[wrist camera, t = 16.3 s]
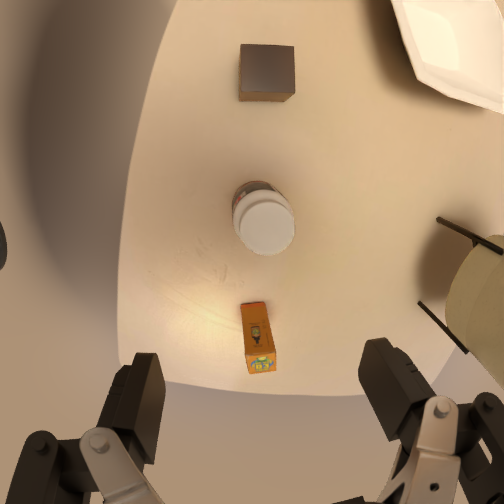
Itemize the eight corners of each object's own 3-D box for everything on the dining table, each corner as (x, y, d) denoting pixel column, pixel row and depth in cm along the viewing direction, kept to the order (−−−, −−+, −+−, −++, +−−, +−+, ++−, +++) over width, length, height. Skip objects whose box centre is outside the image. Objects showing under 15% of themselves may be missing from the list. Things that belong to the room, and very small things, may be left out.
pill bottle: (223, 216, 33) (221, 245, 24) (245, 172, 32) (250, 183, 23) (268, 236, 35) (281, 270, 25) (290, 193, 33) (313, 213, 24)
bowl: (487, 120, 30) (524, 123, 22) (370, 97, 29) (407, 87, 21) (465, 4, 22) (496, -8, 14) (346, -38, 21) (369, -67, 13)
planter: (466, 299, 41) (545, 373, 20) (401, 308, 40) (485, 412, 19) (486, 218, 36) (589, 273, 15) (421, 212, 35) (551, 285, 13)
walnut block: (239, 101, 29) (240, 91, 23) (238, 61, 27) (240, 44, 22) (284, 102, 29) (295, 93, 24) (283, 62, 27) (294, 46, 22)
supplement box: (242, 324, 39) (246, 376, 30) (240, 303, 38) (244, 353, 28) (267, 322, 39) (277, 372, 30) (265, 301, 38) (276, 349, 29)
